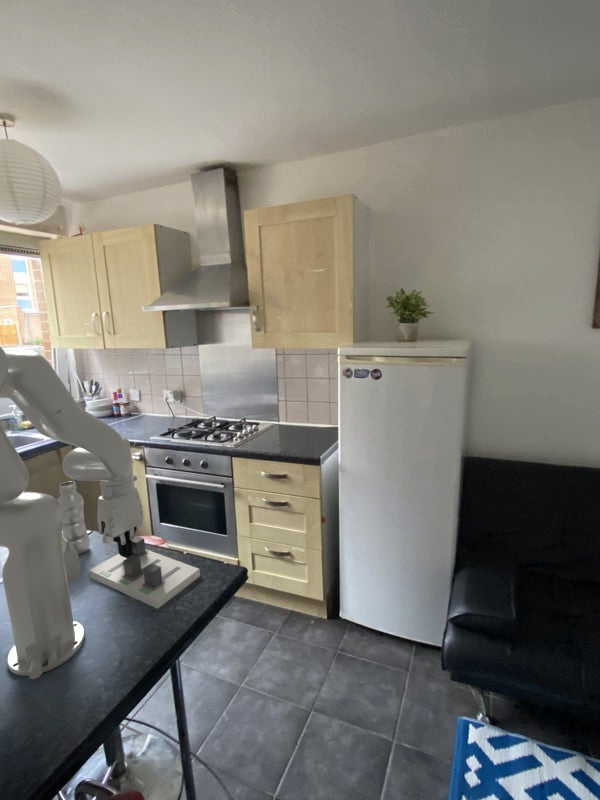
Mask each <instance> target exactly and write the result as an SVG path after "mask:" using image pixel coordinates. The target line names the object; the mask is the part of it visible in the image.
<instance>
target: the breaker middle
mask: <svg viewBox="0 0 600 800" xmlns="http://www.w3.org/2000/svg"><path fill="white" fill-rule="evenodd" d="M123 563H124V571H125V575H123V576H122V577H123V578H125V579H128V580H130V581H134V580H135V579H137V578H138V577H140V576H141V575H143V574H144V572H143V571H142V570H141V562H140V559H139V558H137V557H134V556H130V557H129V558H127V559H125V560H124V561H123Z"/></svg>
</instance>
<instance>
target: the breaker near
mask: <svg viewBox="0 0 600 800" xmlns="http://www.w3.org/2000/svg"><path fill="white" fill-rule="evenodd" d="M143 572H144V580H145V583H144V584H143V585H142V586H144V587H146V588H148V589H151V590H154V589H156V588H157V587H158V586H160V585H161V584H163V583H164V582H165V580H162V574H161V567H160V566H157V565H155V564H150V565H148V566H147V567H145V568H144V569H143Z"/></svg>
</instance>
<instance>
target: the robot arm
mask: <svg viewBox="0 0 600 800" xmlns="http://www.w3.org/2000/svg"><path fill="white" fill-rule="evenodd" d="M1 398H2V399H3V398H5V399H10V400H11V401H12V402H13V403H14V404H15V405H16V406H17V407H18V409H19V410H20V411H21V412H22V414H23V415H24V416H25V417H26V418H27V420H28V421H29V422H30V423H31V424H32V425H33V427H34V428H35V429H36V431H37V432H38V433H39V434H41V435H43V436H44V437H46V438H50V439H52V440H53V441H57V442H60V443H64V444H68V445H71V446H74V447H76V448H74V449H72V450H70V451H69V452H68V453H67V454H66V455H65V456H64V458H63V461H62V465H61V467H62V471H63V473H64V475H65V476H66V477H67V478H69V479H72V480H74V481H81V482H83V481H85V482H94V481H95V482H99V484H100V492H101V495H100V496H98V500H97V514H96V515H97V529H98V534H100V535H101V536H102V535H103V536H102V543H104V544H112V543H117V548H118V549H117V550H118V551H117V552H118V554H120V556H122V557H125V558H129V557H130V556H132V555H133V545H132V540H133V539H134V537H135V533H136V532H137V530H138V529H140V527H142V525H143V522H144V512H143V511H144V509H143V504H142V500H141V496H140V494H139V491H138V488H137V487H136V486H135V482H136V481H138V477H137V476H136V475H134V469H133V468H134V467H133V457H132V452H131V444H130V441H129V439H128V438H127V437H125V436H121V435H120V433H119V432H117V431H116V430H115V428H113V427H112V426H111V425H109V424H108V423H106V422H105V421H103V420H101V419H100V418H98V417H97V416H95V415H93V414H91V412H89V411H86V410H85V409H83V408H81V406H79V404H78V403H77V402H76V400H75V399H74V397H73V396H72V394H71V393H70V392H69V390H68V388H67V387H66V385H65V384H64V382H63V381H62V379H61V378H60V376H59V375H58V374H57V372H56V371H55V368H54V367H53V366H52V365H51V364H50V362H49V360H47V359H46V357H44V356H43V355H41V354H39V353H36V352H33V351H28V350H26V351H25V350H12V351H11V350H7V351H6V350H4V349H3V348H2V347H1V346H0V399H1ZM1 424H2V423H0V547H3V548H6V549H7V550H8V556H7V558H6V560H5V562H4V565H3V568H2V571H1V572H2V573H1V575H2V576H1V577H2V584H3V587H4V593H5V598H6V604H7V610H8V613H9V620H10V625H11V629H12V636H13V641H14V644H13V646H12V648H10V650H9V652H8V655H7V658H6V663H7V667H8V670H9V671H10V672H11V673H12V674H15V675H17V676H21V677H27V676H28V678H29V679H30V680H35V679H38V678H39V677H41V675H42V674H43V673H46V672H49V671H51V670H54V669H55V668H57V667H59V666H61V665H62V664H64V663H65V662H67V661H68V660H70V658H72V657H73V656H74V655H75V654H77V652H78V651H79V650H80V649H81V647H82V645H83V643H84V642H85V637H86V635H85V629H84V626H83V625H82V624H81V623H80V622H78V621H74V618H73V609H72V603H71V597H70V591H69V586H68V582H67V577H66V571H65V565H64V558H63V550H62V534H63V533H62V527H63V509H62V506H61V504H60V503H59V501H58V498H57V499H56V498H55V497H54V496H52V495H50V494H47V493H42V492H39V491H38V492H37V491H26V489H27V488H28V486H29V483H30V475H29V472H28V468H27V466H26V464H25V463H24V460H23V459H22V457H21V456H20V454H19V453H18V451H17V449H16V448H15V446H14V443H12V441H11V440H10V438H9V437H8V434H7V433H6V431H4V428H3V426H2V425H1Z"/></svg>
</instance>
